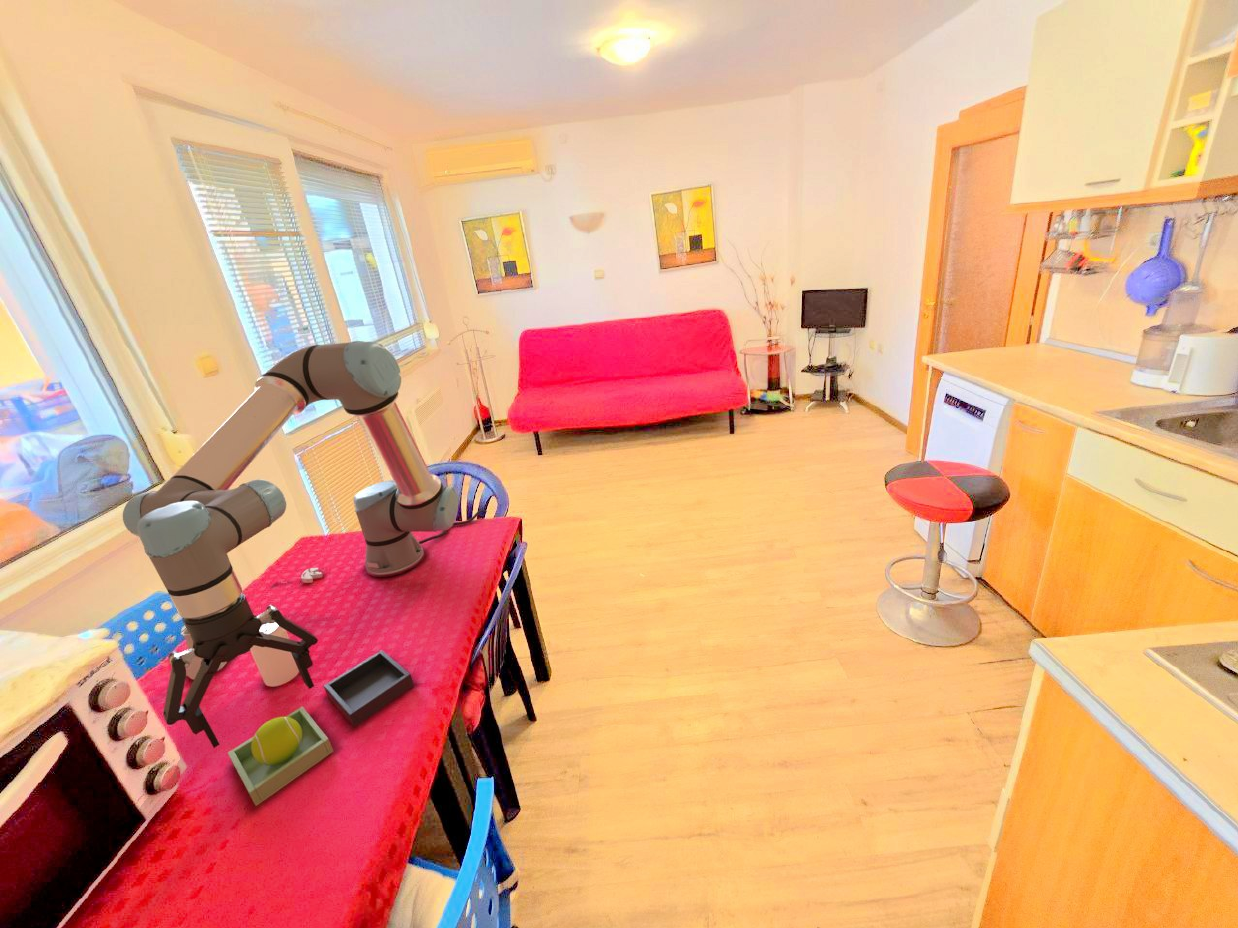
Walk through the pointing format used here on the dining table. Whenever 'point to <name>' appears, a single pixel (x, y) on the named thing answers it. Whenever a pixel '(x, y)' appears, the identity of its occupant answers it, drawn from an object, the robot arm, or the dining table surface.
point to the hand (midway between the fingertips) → (264, 711)
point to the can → (274, 659)
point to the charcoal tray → (368, 687)
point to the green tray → (274, 777)
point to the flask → (194, 658)
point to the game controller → (310, 575)
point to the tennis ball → (276, 740)
